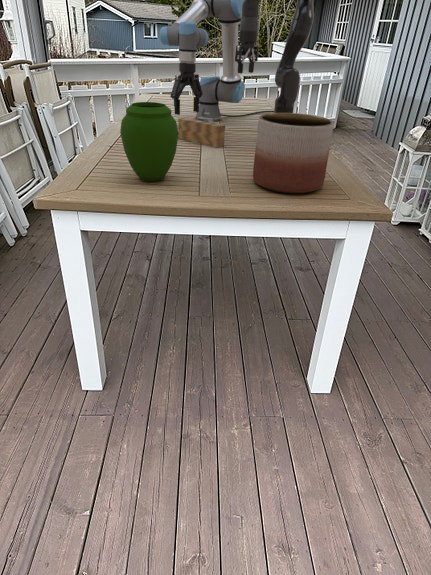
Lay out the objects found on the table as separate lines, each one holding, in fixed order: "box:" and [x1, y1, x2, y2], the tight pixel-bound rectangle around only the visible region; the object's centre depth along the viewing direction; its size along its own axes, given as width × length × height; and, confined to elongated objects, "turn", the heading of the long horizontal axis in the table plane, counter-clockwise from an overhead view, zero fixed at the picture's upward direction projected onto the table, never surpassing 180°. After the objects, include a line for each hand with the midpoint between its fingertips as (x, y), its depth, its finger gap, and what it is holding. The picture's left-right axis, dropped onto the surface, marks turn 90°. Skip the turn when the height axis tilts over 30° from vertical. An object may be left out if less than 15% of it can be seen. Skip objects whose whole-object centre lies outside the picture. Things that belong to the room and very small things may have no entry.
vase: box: [119, 101, 179, 182], centre depth 140 cm, size 20×20×24 cm
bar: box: [177, 117, 226, 149], centre depth 195 cm, size 25×5×9 cm, turn 52°
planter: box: [252, 112, 335, 194], centre depth 142 cm, size 25×25×22 cm
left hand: (186, 113), depth 195 cm, fingers open, 13 cm apart
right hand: (245, 72), depth 181 cm, fingers open, 8 cm apart
